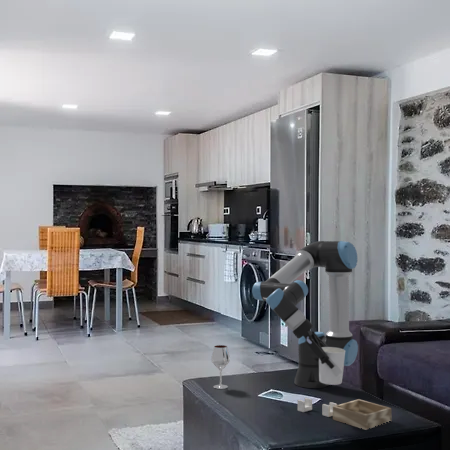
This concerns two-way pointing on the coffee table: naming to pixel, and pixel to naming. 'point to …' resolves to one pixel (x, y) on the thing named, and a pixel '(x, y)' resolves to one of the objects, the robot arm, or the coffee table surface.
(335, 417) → the square wooden tray
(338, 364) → the candle holder
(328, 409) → the clips
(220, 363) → the wineglass
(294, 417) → the coffee table surface
